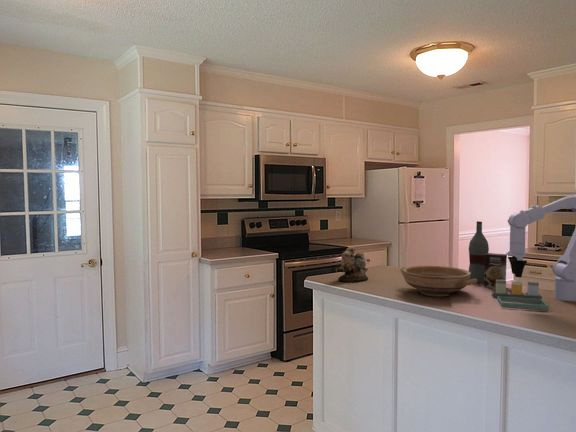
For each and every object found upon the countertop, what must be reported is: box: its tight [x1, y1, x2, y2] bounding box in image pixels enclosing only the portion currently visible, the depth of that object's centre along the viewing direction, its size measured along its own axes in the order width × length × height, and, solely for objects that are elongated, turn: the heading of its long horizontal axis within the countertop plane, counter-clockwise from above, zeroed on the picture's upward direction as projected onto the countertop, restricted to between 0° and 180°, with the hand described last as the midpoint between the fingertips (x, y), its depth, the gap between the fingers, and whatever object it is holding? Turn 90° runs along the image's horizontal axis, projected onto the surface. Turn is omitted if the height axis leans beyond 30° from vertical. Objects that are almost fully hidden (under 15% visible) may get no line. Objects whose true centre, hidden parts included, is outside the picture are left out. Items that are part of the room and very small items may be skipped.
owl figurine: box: [337, 246, 369, 284], centre depth 233 cm, size 18×12×17 cm, turn 126°
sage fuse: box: [495, 279, 507, 294], centre depth 192 cm, size 4×2×7 cm, turn 73°
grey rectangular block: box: [526, 280, 540, 296], centre depth 188 cm, size 4×2×7 cm, turn 73°
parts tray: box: [496, 296, 549, 313], centre depth 179 cm, size 16×11×2 cm
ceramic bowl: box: [399, 265, 477, 298], centre depth 203 cm, size 37×29×10 cm
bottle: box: [468, 220, 490, 285], centre depth 227 cm, size 9×9×30 cm
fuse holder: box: [491, 290, 543, 300], centre depth 190 cm, size 18×7×3 cm, turn 73°
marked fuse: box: [510, 279, 523, 295], centre depth 190 cm, size 4×2×7 cm, turn 73°
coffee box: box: [483, 252, 508, 289], centre depth 212 cm, size 9×6×16 cm
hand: (516, 275), depth 190 cm, fingers open, 7 cm apart
